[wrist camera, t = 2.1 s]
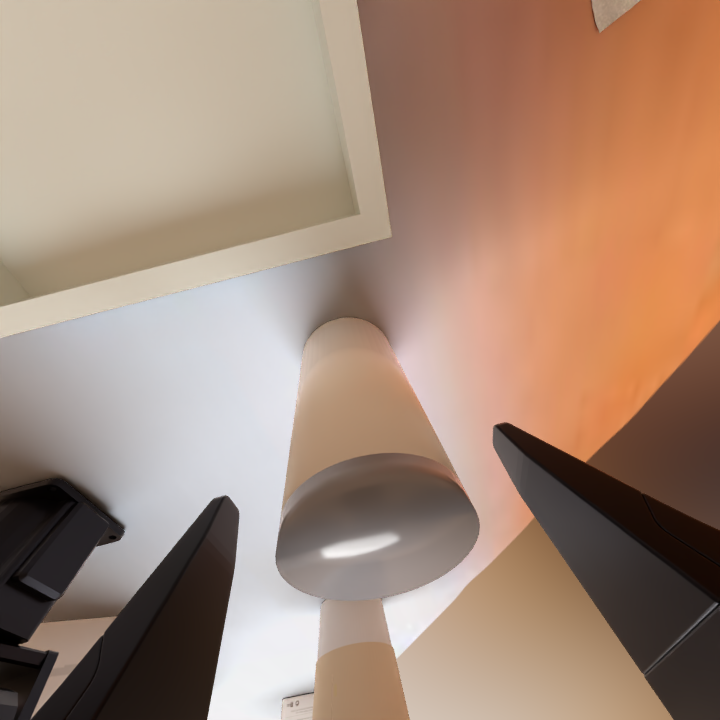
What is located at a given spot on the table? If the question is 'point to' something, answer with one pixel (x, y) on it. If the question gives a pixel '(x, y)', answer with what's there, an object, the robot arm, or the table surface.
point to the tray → (176, 147)
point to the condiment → (610, 11)
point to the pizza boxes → (66, 647)
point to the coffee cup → (356, 664)
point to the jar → (366, 476)
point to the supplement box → (298, 707)
